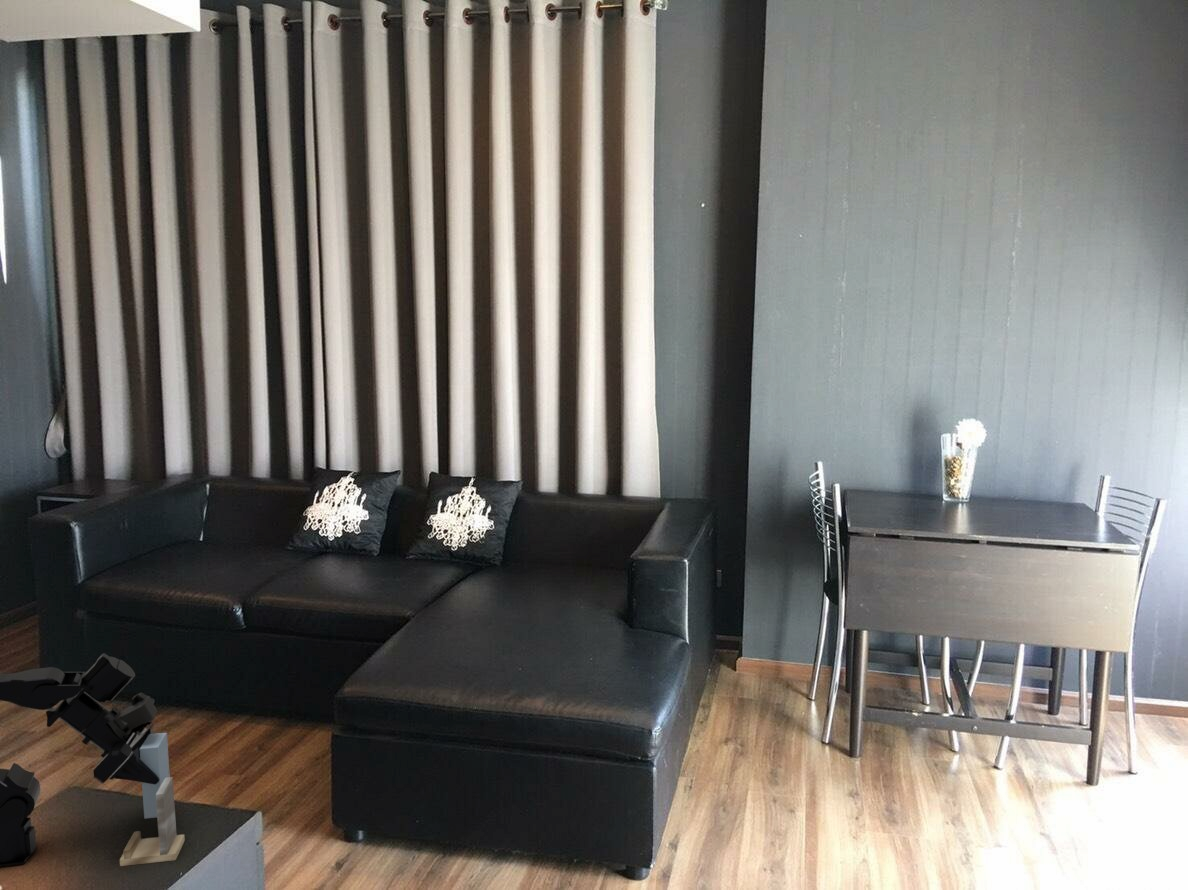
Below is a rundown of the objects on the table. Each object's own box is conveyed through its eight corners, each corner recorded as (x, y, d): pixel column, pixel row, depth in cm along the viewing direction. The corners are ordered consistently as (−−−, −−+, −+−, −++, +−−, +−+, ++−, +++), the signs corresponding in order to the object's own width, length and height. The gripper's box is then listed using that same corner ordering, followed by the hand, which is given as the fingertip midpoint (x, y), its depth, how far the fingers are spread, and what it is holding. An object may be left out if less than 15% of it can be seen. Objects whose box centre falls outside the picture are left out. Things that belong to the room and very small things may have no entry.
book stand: (120, 866, 162) (114, 798, 161) (131, 846, 169) (126, 781, 167) (175, 860, 164) (171, 793, 163) (184, 840, 170) (180, 776, 169)
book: (144, 818, 169) (139, 748, 167) (153, 801, 175) (149, 734, 174) (162, 816, 169) (157, 747, 168) (171, 799, 176) (166, 732, 174)
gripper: (108, 706, 160) (182, 762, 163) (139, 669, 178) (204, 720, 181) (61, 755, 159) (136, 811, 162) (97, 713, 177) (163, 763, 181)
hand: (162, 773), depth 172 cm, fingers closed on book, 6 cm apart
